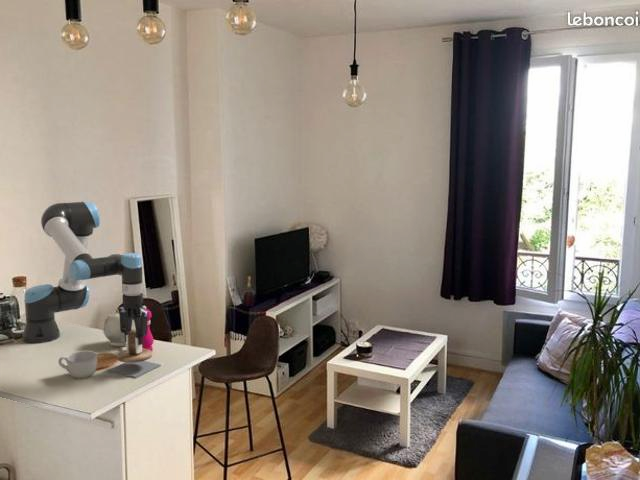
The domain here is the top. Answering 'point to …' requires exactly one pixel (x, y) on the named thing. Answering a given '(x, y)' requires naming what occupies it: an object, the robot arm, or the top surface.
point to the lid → (133, 351)
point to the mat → (134, 368)
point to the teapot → (115, 330)
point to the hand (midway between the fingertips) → (134, 351)
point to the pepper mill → (148, 333)
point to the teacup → (80, 363)
